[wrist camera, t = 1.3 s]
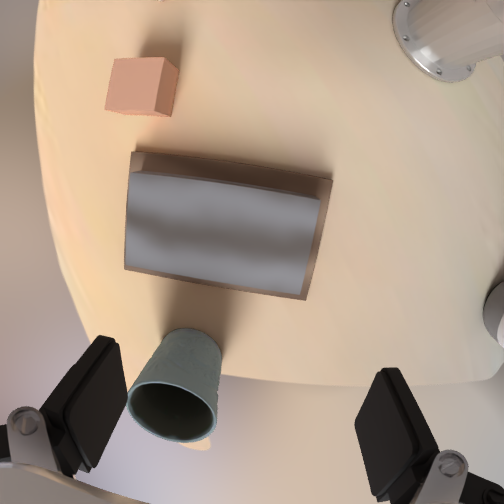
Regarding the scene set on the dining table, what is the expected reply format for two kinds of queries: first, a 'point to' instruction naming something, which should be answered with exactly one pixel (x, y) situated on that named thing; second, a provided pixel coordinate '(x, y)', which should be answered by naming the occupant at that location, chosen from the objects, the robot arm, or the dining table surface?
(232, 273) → the board
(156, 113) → the terracotta cube
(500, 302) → the smart speaker
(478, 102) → the dining table surface
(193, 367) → the grey green cup
